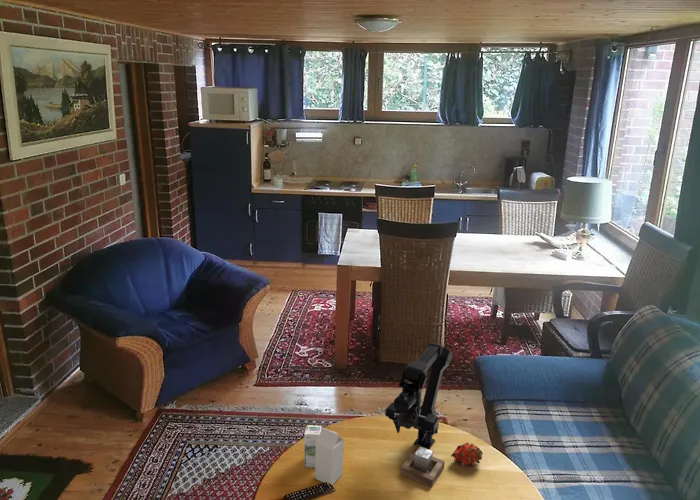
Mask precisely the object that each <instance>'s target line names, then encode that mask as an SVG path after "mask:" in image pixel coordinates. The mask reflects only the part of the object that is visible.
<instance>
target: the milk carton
mask: <svg viewBox="0 0 700 500" xmlns="http://www.w3.org/2000/svg"><path fill="white" fill-rule="evenodd" d="M339 435H340V434H339V433H338V432H336V431H334V430H332V429H331V430H329V429H327V428H324V427H321V432H320V434H319V436H318V438H317V441H316V452H315V468H314V479H315V480H316V481H317V480H318V481H320V482H322V483H324V482H327V483H330V484H331V485H332V486H333V485H334V484H335V483H336V482H337V481H338V480H339V479H340V478H341V477H342V475H343V472H344V471H343V469H344V444H345V443H344V441H345V440H344V439H343V438H341V437H340V436H339Z"/></svg>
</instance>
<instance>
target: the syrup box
mask: <svg viewBox="0 0 700 500" xmlns="http://www.w3.org/2000/svg"><path fill="white" fill-rule="evenodd" d="M321 428H322V426H321V425H308V424H306V425H305V431H304V445H303V446H304V448H303V449H304V450H303V451H304V454H303V460H304V462H303V468H314V469H315V452H316V441H317V438H318V436H319V434H320V432H321Z"/></svg>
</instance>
